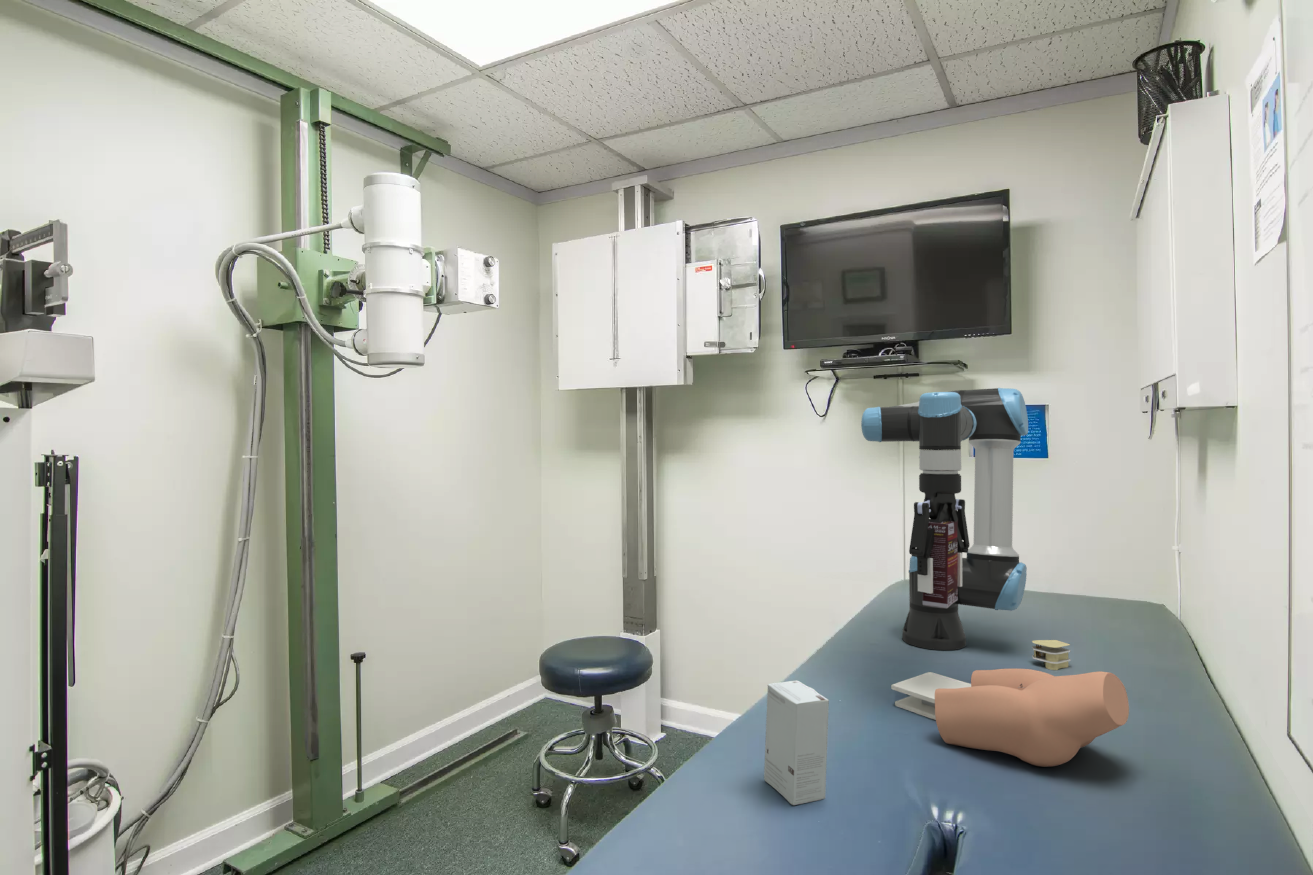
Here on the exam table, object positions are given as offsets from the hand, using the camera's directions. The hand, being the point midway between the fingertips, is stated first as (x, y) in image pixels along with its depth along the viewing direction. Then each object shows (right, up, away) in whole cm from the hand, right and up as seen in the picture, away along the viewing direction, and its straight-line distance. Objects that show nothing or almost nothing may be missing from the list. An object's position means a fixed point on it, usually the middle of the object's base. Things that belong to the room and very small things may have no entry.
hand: (940, 588), depth 133 cm
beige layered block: (+35, -24, +25) cm, 49 cm away
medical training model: (+8, -23, -18) cm, 30 cm away
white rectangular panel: (0, -23, 0) cm, 23 cm away
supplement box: (0, -3, 0) cm, 3 cm away
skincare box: (-34, -23, -31) cm, 52 cm away
